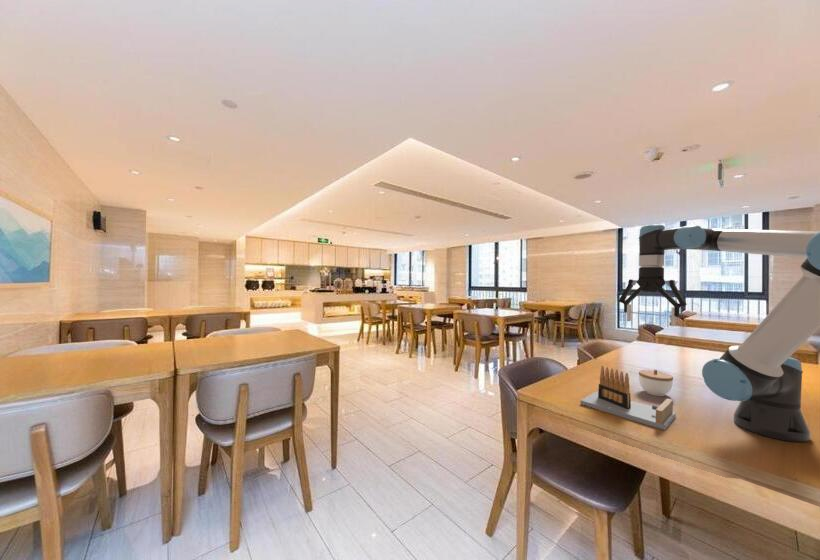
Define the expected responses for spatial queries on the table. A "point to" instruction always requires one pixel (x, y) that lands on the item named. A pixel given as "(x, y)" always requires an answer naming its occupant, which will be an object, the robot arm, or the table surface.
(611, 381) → the ammunition clip
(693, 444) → the table surface
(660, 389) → the lidded jar
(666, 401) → the wall board
